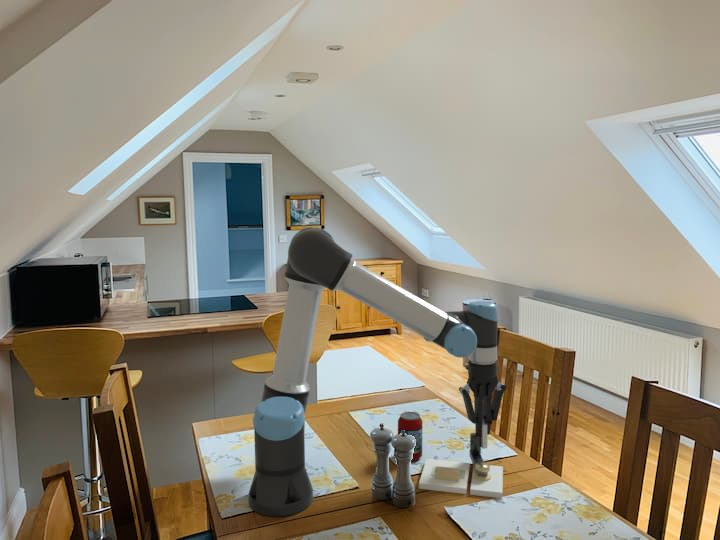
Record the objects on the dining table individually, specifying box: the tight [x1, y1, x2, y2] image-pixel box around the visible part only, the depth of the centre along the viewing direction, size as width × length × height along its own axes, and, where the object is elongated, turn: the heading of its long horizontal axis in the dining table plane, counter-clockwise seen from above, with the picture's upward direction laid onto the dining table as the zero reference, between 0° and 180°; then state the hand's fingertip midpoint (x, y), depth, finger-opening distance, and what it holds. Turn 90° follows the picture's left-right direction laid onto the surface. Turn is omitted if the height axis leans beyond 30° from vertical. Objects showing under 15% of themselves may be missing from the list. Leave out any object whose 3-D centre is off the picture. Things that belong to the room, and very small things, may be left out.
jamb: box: [470, 464, 504, 499], centre depth 145 cm, size 14×8×2 cm, turn 166°
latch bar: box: [469, 432, 491, 476], centre depth 149 cm, size 13×4×7 cm, turn 179°
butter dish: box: [418, 458, 471, 495], centre depth 147 cm, size 14×12×4 cm
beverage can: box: [397, 411, 423, 462], centre depth 159 cm, size 7×7×12 cm
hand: (482, 446), depth 154 cm, fingers closed
